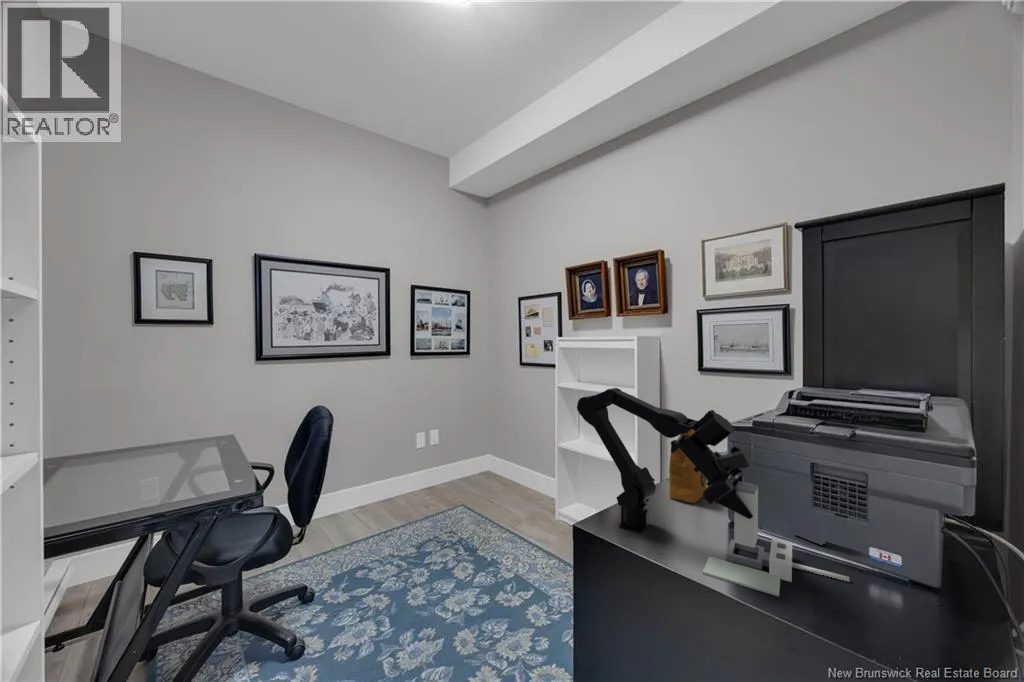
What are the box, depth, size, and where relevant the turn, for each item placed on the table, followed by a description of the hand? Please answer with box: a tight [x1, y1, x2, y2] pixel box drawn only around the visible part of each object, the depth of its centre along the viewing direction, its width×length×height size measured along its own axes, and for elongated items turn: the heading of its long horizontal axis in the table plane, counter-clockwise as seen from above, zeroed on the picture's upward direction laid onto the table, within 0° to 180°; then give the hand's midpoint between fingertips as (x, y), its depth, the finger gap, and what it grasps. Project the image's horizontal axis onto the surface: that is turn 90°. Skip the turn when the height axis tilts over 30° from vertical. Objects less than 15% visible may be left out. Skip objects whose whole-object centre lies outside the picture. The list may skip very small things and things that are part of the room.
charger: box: [733, 481, 759, 548], centre depth 94 cm, size 4×6×12 cm
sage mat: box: [702, 556, 781, 598], centre depth 89 cm, size 14×8×1 cm, turn 55°
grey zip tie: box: [726, 537, 850, 583], centre depth 92 cm, size 22×12×4 cm, turn 55°
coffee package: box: [668, 430, 707, 504], centre depth 133 cm, size 10×12×22 cm
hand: (753, 513), depth 94 cm, fingers closed on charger, 5 cm apart
